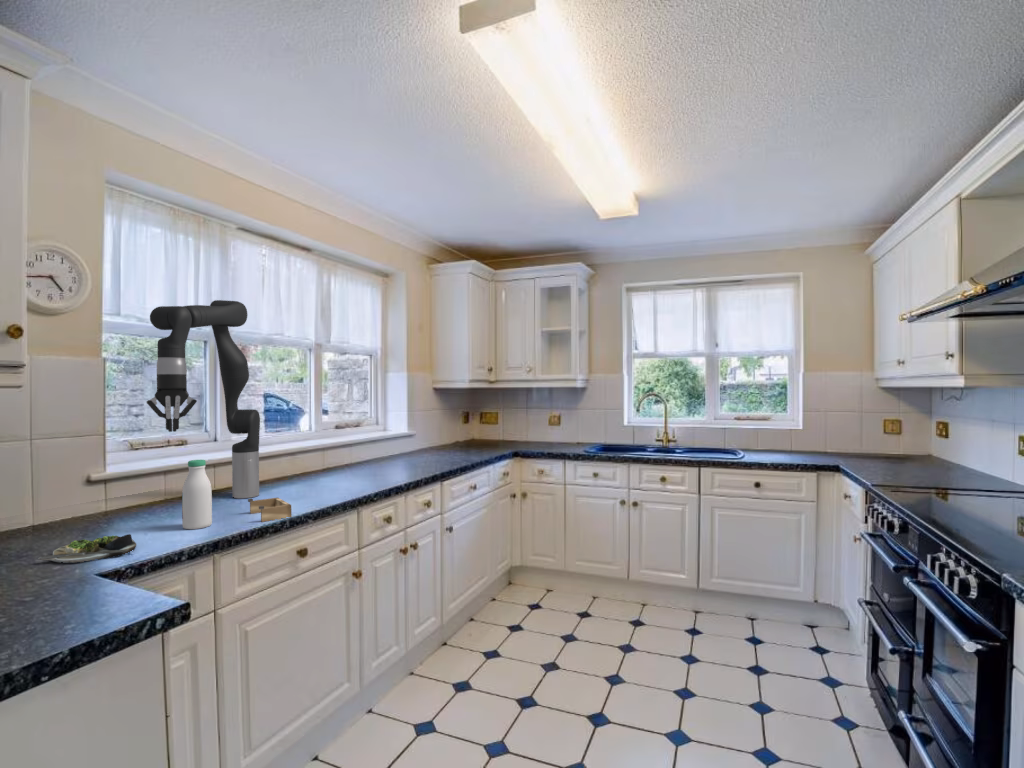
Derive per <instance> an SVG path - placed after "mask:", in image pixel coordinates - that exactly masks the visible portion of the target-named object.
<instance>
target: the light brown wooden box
mask: <svg viewBox="0 0 1024 768" xmlns="http://www.w3.org/2000/svg"><path fill="white" fill-rule="evenodd" d="M247 502H248V503H249V514H251V515H253V514H259V513H260V521H261V523H264V522H265V521H266V522H271V521H270V520H272V521H276V520H275V519H278V520H282V519H281V518H285V519H287V518H286V517H291V518H292V504H290V503H289V502H287V501H286V500H283V499H281V498H279V497H271V498H264V499H257V500H254V499H253V498H247Z"/></svg>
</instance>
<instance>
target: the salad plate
mask: <svg viewBox="0 0 1024 768" xmlns="http://www.w3.org/2000/svg"><path fill="white" fill-rule="evenodd" d="M136 548H137V542H136V541H134V539H133V537H132V534H131V533H128V534H125V535H122V536H119V535H107V536H106V535H105V536H102V537H101V536H99V537H97V538H95V539H94V540H88V539H84V538H83V539H80V540H73V541H71V542H70V543H69V544H66V545H64V546H63V545H62V546H60V547H59V548H56V549H54V550H53V551H52V554H49V555H48V554H47V555H41V556H39V557H37V559H38V561H51V562H55V563H61V562H63V563H64V564H78V563H77V562H80V563H85V562H84V561H87V562H91V561H90V560H92V561H96V560H95V559H98V560H103V559H102V558H104V559H109V558H108V557H110V558H113V556H115V557H119V556H118V555H120V556H123V555H122V554H124V555H126V554H125V553H127V554H129V553H131V552H130V551H132V550H133V551H135V549H136ZM133 551H132V552H133ZM128 552H129V553H128Z"/></svg>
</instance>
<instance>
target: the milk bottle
mask: <svg viewBox="0 0 1024 768" xmlns="http://www.w3.org/2000/svg"><path fill="white" fill-rule="evenodd" d="M206 465H207V463H206V459H193V460H189V461H188V462H187V468H188V473H187V476H186V479H185V481H184V483H183V485H182V493H181V494H182V495H181V498H182V499H181V503H182V504H181V508H182V509H181V510H182V511H181V514H182V515H181V517H182V519H181V521H182V522H181V523H182V528H183V530H199V529H203V528H207V527H210V526H211V525H212V523H213V505H212V504H213V503H212V502H213V495H212V493H213V492H212V491H213V490H212V485H211V481H210V478H209V477H208V476H207V472H206Z"/></svg>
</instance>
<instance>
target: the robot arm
mask: <svg viewBox="0 0 1024 768" xmlns="http://www.w3.org/2000/svg"><path fill="white" fill-rule="evenodd" d="M149 314H150V315H149V321H150V323H151V326H153V327H154V328H156V329H157V330H160V331H171V333H170V334H169V335H168V336H166V337H162V338H160V339H158V341H157V347H156V348H157V360H156V361H157V362H156V391H155V394H154V397H152V398H151V399H149V400H148V399H147V401H146V404H147V405H148V406H149V408H150V409H151V410H152V411H153V412H154V413H155V414H156V415H157V416H158V417H159V418H164V420H165V429H166V431H168V432H169V433H171V432H173V433H174V432H177V430H179V429H180V418H184V417H186V415H188V413H189V412H190V411H191V410H192V408H193V407H194V406H195V405H196V404H197V399H195V398H192V397H191V396H189V392H188V390H187V388H188V386H187V381H188V380H187V377H188V375H187V373H188V369H187V361H186V360H187V359H186V344H187V341H188V337H189V333H190V331H191V329H195V328H202V327H203V328H204V327H210V326H211V328H212V333H213V336H214V340H215V344H216V350H217V355H218V363H219V369H220V371H219V372H220V377H221V382H222V387H223V394H224V403H225V416H226V417H225V418H226V426H227V430H228V431H229V433H230V434H237V435H239V434H243V435H244V434H247V437H246V438H245V439H244V440H241V441H238V442H236V443H234V444H232V447H231V463H232V464H231V469H232V471H231V474H232V475H231V477H232V479H231V482H232V483H231V484H232V486H231V489H232V490H231V491H232V498H233V497H234V498H233V499H251V498H255V497H258V496H259V495H260V451H259V450H260V430H261V429H260V427H261V415H260V412H259V411H258V410H257V409H239V407H238V401H239V398H240V396H241V395H242V392H243V390H244V388H245V386H246V385H247V383H248V381H249V378H250V374H249V373H250V372H249V371H250V370H249V364H248V359H247V357H246V356H245V354H244V353H243V351H242V350H241V349H240V348H239V347H238V345H237V344H236V343H235V342H234V340H233V338H232V336H231V334H230V330H229V328H238V327H242V326H244V325H245V323H247V319H248V310H247V307H246V305H245V304H244V303H243V302H240V301H236V300H224V299H223V300H222V299H221V300H220V299H219V300H217V299H215V300H213V301H211V302H210V305H205V304H203V305H200V304H193V305H182V306H181V305H173V306H169V305H168V306H167V305H165V306H163V305H162V306H156V307H155V308H154V309H152V311H151V312H150V313H149ZM157 401H158V402H157ZM185 402H186V405H185V407H183V409H182V411H181V410H180V409H181V406H182V405H183V404H184V403H185ZM158 403H159V404H160V405H161V406H162V407H164V412H162V411H161V409H159V407H158V406H157V405H158ZM172 408H173V409H172ZM172 410H173V413H172ZM180 411H181V412H180ZM172 416H173V418H172Z"/></svg>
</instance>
